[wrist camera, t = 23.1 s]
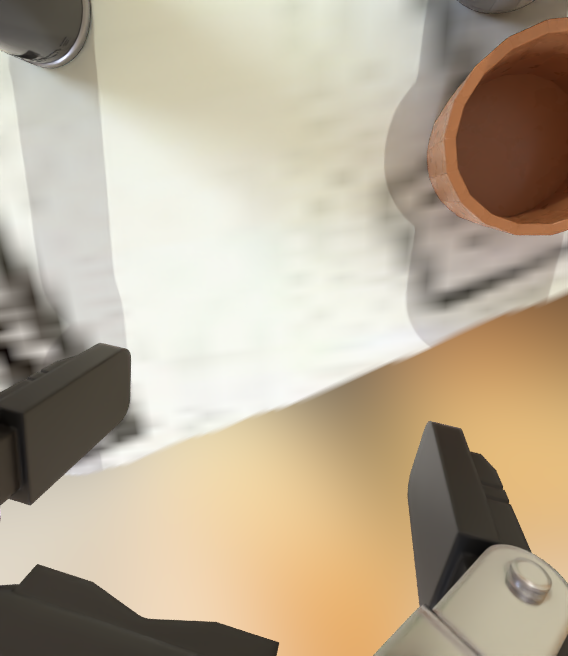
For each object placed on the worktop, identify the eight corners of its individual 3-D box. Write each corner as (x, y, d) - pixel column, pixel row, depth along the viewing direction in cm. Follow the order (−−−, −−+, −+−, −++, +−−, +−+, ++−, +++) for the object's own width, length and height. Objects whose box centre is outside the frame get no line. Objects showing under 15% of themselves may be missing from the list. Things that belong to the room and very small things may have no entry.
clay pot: (408, 106, 34) (420, 76, 25) (571, 35, 30) (652, -29, 22) (447, 244, 37) (470, 261, 28) (601, 193, 33) (684, 193, 24)
